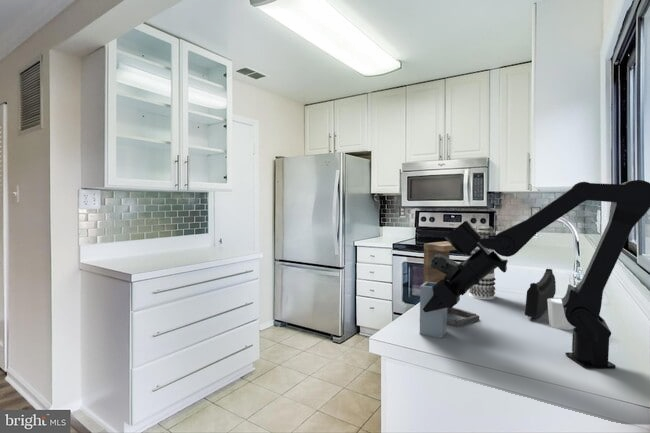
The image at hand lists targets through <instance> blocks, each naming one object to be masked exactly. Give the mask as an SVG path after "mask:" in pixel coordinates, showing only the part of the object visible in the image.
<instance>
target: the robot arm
mask: <svg viewBox="0 0 650 433" xmlns="http://www.w3.org/2000/svg"><path fill="white" fill-rule="evenodd" d="M586 201H593V202H594V201H595V202H608V203H610V207H609V213H608V214H609V215H608V222H607V224H606V225H605V229H604V230H603V232H602V235H601V237H600V239H599V241H598V244H597V246H596V248H595V250H594V252H593V255H592V257H591V260H590V261H589V263H588V265H587V267H586V270H585V272H584V275H583V277H582V278H581V280H580V281H579V283H577V285H576V286H573V285H572V284H570V283H569V284H568V285H567V290H566V293H565V295H564V296H563V297H561V298H562V304H563V308H564V313H565V317H566V319H567V321H568V322H569V323H570V324H571V325H572V326H574V328H573V329H572V330H573V331H572V337H571V338H572V341H571V342H572V345H571V352H570V351H569V352H565V354H564V355H565V356H566V357H568V358H570V359H571V360H573V361H574V362H575V363H577V364H579V365H580V366H582V367H583V368H588V369H591V368H592V369H605V368H606V369H615V368H616V364H615V363H612V362H611V361H609V353H610V352H609V351H610V349H609V348H610V338H611V336H612V331H611V329H610V327H609V326H608V324H607V322H606V320H605V319H604V318H603V317H602V316H601V315H600V314H601V309H602V303H603V297H604V296H603V295H604V289H605V288H606V285H607V283H608V281H609V279H610V277H611V275H612V273H613V270H614V268H615V266H616V264H617V262H618V259H619V258H620V256H621V253H622V251H623V249H624V247H625V245H626V242H627V240H628V238H629V237H630V234H631V232H632V230H633V228H634V227H635V226H636V225H637V224H638V223H639V221H641V219H642V218H643V217H644V216H645V215H646V214H647V212H649V209H650V182H649V181H647V180H646V181H645V180H644V179H643V180H641V179H633V180H629V181H625V182H623V183H600V182H599V183H597V182H595V183H594V182H593V183H592V182H588V181H579V182H577V183H576V184H574V185H573V186H572V187H570V188H569V189H568V190H567V191H566V192H564V193H563V194H561V195H560V196H559V197H556V198H555V199H554V200H552V201H551V202H549V203H548V204H547V205H545V206H544V207H543V208H540V210H537V211H536V213H534V214H532V215H531V216H529V217H528V218H527V219H524V220H522V221H521V222H519V223H516V224H514V225H511V226H509V227H508V228H505V229H503V230H501V231H499V232H498V233H496V234H495V235H490V236H488V235H486V236H481V235H480V234H479V233H478V232H477V231H476V230H475V229H474V227H473V225H472V224H471V223H470V222H469V221H468V220H464V221H463V222H462V223H461V224H459V225H457V227H456V228H453V229H452V230H451V231H450V232H449V233H448V234H446V236H445V237H444V239H445V240H446V241H447V242H449V243H450V244H451V245H452V246H453V247H454V248H455V249H456V250H455V251H457V252H458V253H459V255H462V254H463V255H467V256H468V255H469V254H470V253H471V252H472V251H473V250H474V249H475V248H476V247H479V248H480V249H479V250H478V251H476V252H475V253H474V254H473V255H472V256H471V255H470V256H469V257H468V258H466V260H464V261H461V262H460V263H458V262H456V261H454V260H453V259H452V258H450V257H449V258H447V257H446V256H444V255H442V254H439V253H438V254H436V255H435V257H434V258H433V260H432V262H431V264H430V266H431V267H432V268H434V269H437V270H439V271H441V272H442V273H444V274H447V275H446V276H444V280H440V281H439V282H438V283H436V284H435V285H434V286H433V287H432V290H433V296H432V298H431V299H430V300H429V301H428V303H427V304H426V305H425V307H424V308H423V311H424V312H430V311H435V310H439V309H444V308H452V307H454V306H456V305H458V303H459V301H460V300H461V298H460V297H461V296H463V295H465V294H467V292H468V291H469V290H470V288H472V287H473V286H474V285H476V284H478V283H479V282H480V280H482V279H483V278H484V277H485V276H487V275H488V274H489V273H490V272H492V271H493V270H494V271H495V270H496V269H497V268H498V270H499V269H500V270H499V271H501V272H503V273H506V272H507V270H508V267H507V266H508V262H509V260H508V259H507V258H508V257H512V256H514V255H516V254H517V253H518V252H519V251H520V250H522V249H523V248H524V247H525V245H526V244H527V243H528V242H530V241H531V240H532V239H533V237H534V236H536V234H538V233H539V232H541V231H543V230H544V229H545V228H547V227H548V226H550V225H551V224H552V223H554V222H555V221H557V220H558V219H560V218H561V217H564V216H565V215H566V214H568V213H569V212H571V211H572V210H574V209H575V208H577V207H578V206H580V205H581V204H582V203H584V202H586ZM477 243H478V244H477ZM486 248H489V249H493V250H494V251H492V252H491V253H490V252H489V251H488V250H487V249H486ZM496 253H497V254H496ZM500 256H501V257H506V259H503V258H501V257H500Z"/></svg>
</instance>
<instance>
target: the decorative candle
mask: <svg viewBox="0 0 650 433" xmlns="http://www.w3.org/2000/svg"><path fill="white" fill-rule="evenodd" d="M473 228H474V229H475V230H476V231H477V232H478V233H479V234H480V235H481V236H486V235H488V236H490V235H496V230H494V228H493V227H492V226H488V225H486V226H485V225H477V226H476V225H475V226H474V227H473ZM477 244H478V243H477ZM479 249H480V248H479V247H476V248H475V249H474V250H473V251H472V252H471V253H469V254H470V256H472V255H473V254H474V253H475V252H476V251H478V250H479ZM486 249H487V250H488V251H489V252H490V253H491V252H492V251H494V252H495V250H493V249H489V248H486ZM495 253H496V252H495ZM496 254H497V253H496ZM497 255H498V254H497ZM495 275H496V274H495V269H494V270H493V271H492V272H490V273H489V274H488V275H487V276H485V277H484V278H483V279H482V280H480V282H479V283H478V284H476V285H474V286H473V287H472V288H470V289H469V290H468V291H469V294H468V295H469V297H471V298H474V299H477V300H484V301H485V300H486V301H487V300H493V299H495V297H496V296H495V295H496V292H495V291H496V287H495V285H496V282H495V281H496V277H495Z"/></svg>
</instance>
